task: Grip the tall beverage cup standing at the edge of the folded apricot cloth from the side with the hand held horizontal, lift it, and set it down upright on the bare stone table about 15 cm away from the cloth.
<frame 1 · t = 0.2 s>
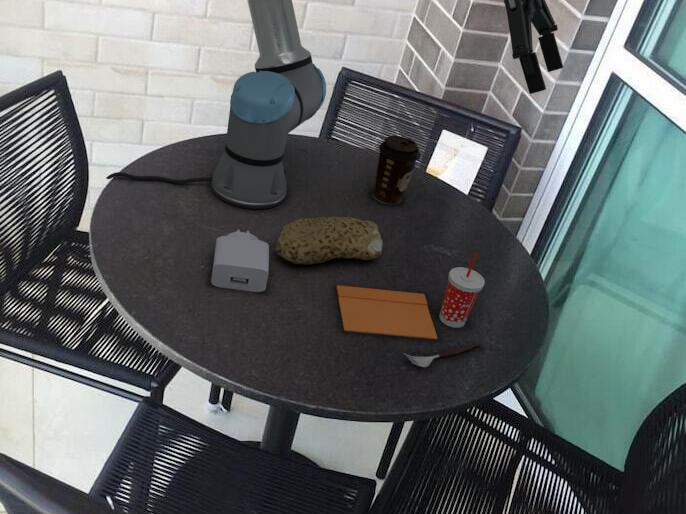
hand: (547, 80, 144), 36 cm above the table, tool tilted 35°, fingers open, 13 cm apart
fork: (442, 357, 132), on the table
sponge: (325, 256, 151), on the table
beverage cup: (451, 320, 141), on the table
charger: (239, 265, 143), on the table
cloth: (385, 313, 139), on the table
coffee cup: (387, 198, 174), on the table
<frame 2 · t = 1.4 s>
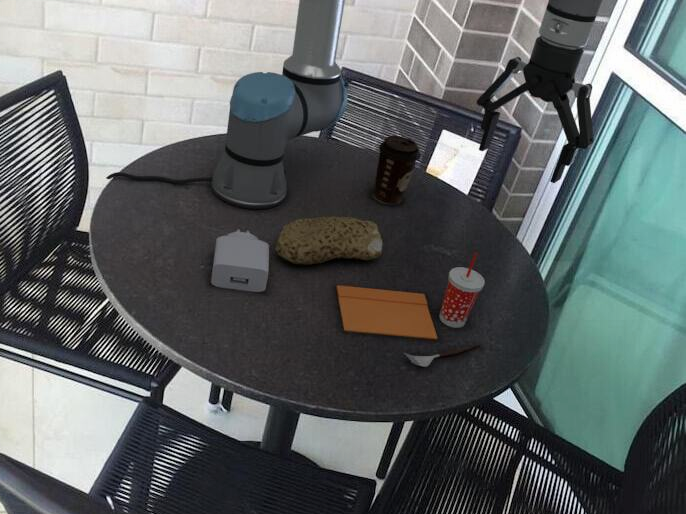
hand: (518, 164, 138), 25 cm above the table, tool pointing down, fingers open, 13 cm apart
nothing on the table moved.
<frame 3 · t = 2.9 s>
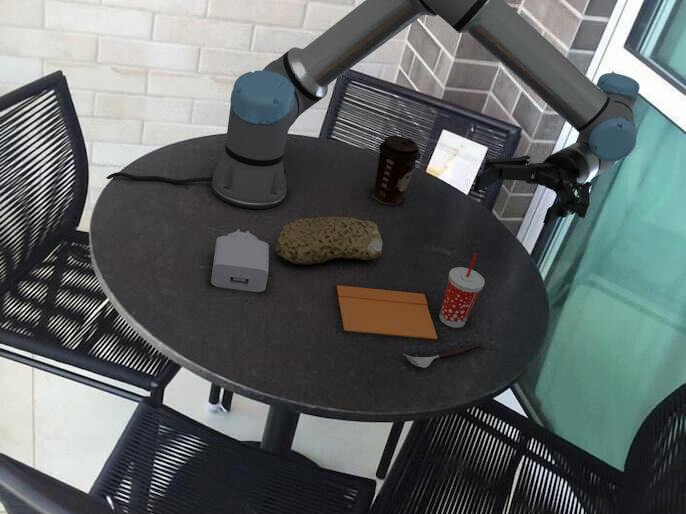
hand: (511, 199, 135), 21 cm above the table, tool horizontal, fingers open, 13 cm apart
nothing on the table moved.
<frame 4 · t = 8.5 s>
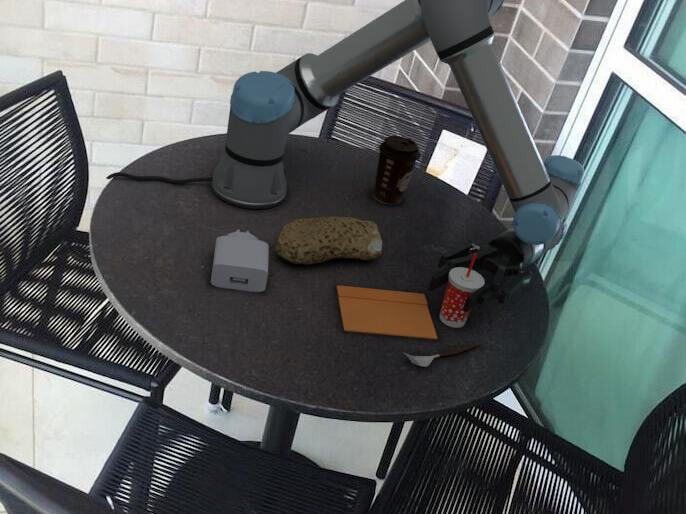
hand: (449, 294, 133), 8 cm above the table, tool horizontal, fingers closed on beverage cup, 6 cm apart
beverage cup: (451, 320, 141), on the table, touching gripper
everything else where it was.
when the fingers open (8 cm above the table, at t = 15.5 s): beverage cup stays where it is, on the table.
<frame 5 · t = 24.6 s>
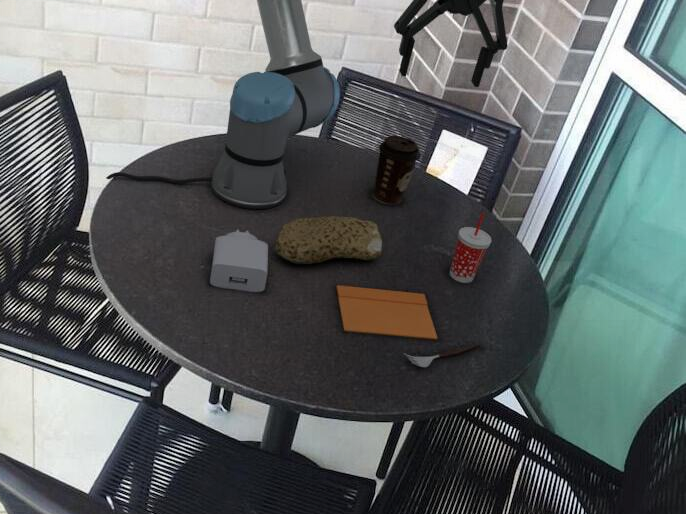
hand: (438, 79, 146), 32 cm above the table, tool pointing down, fingers open, 13 cm apart
beverage cup: (460, 276, 154), on the table
everything else where it was.
at the end: beverage cup inside the target area (0.0 cm from its centre), on the table; beverage cup tilted 0°; the gripper is holding nothing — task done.
